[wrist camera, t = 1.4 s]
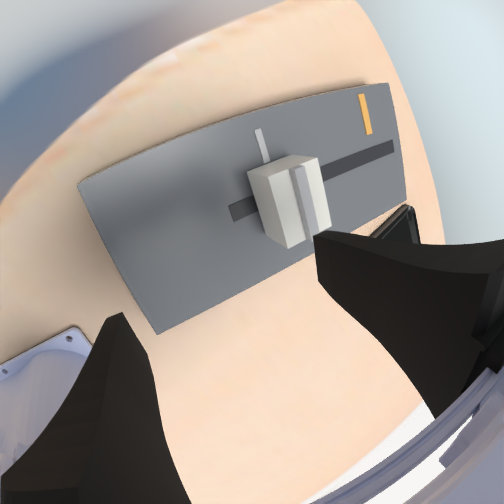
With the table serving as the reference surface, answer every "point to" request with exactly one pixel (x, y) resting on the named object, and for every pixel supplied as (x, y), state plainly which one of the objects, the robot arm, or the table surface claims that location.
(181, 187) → the console
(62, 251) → the table surface
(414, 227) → the phone
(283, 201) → the fader
